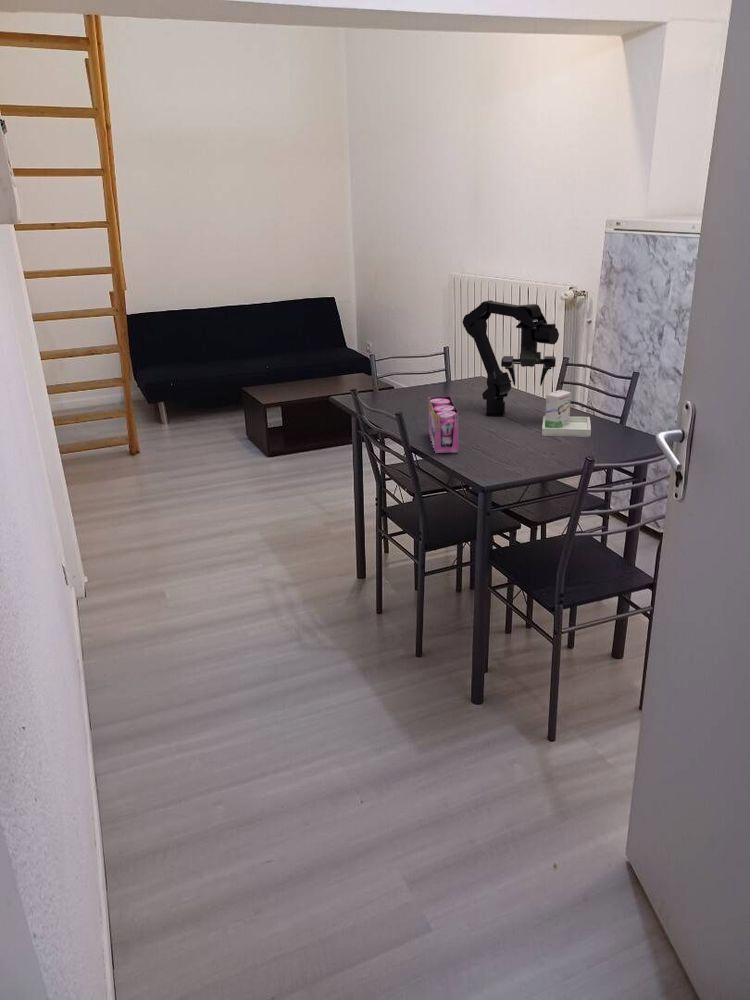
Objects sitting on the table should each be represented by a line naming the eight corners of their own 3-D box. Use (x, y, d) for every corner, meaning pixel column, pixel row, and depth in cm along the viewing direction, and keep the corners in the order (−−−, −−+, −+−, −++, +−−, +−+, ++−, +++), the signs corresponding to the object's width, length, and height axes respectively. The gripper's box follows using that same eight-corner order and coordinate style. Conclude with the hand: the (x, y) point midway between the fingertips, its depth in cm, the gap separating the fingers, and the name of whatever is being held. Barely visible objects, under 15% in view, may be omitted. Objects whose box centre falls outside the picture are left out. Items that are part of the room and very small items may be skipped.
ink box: (556, 429, 262) (558, 396, 257) (544, 427, 265) (545, 394, 261) (569, 424, 267) (571, 391, 263) (557, 421, 270) (559, 389, 266)
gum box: (459, 455, 242) (459, 414, 237) (434, 456, 242) (434, 415, 237) (451, 433, 264) (450, 395, 259) (428, 434, 264) (427, 396, 259)
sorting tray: (541, 435, 258) (542, 428, 257) (543, 422, 272) (543, 415, 271) (590, 436, 254) (591, 429, 253) (589, 423, 269) (589, 416, 268)
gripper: (500, 345, 260) (499, 390, 265) (556, 345, 256) (554, 391, 261) (502, 340, 270) (501, 383, 275) (556, 340, 266) (554, 383, 271)
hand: (527, 385), depth 271 cm, fingers open, 9 cm apart
